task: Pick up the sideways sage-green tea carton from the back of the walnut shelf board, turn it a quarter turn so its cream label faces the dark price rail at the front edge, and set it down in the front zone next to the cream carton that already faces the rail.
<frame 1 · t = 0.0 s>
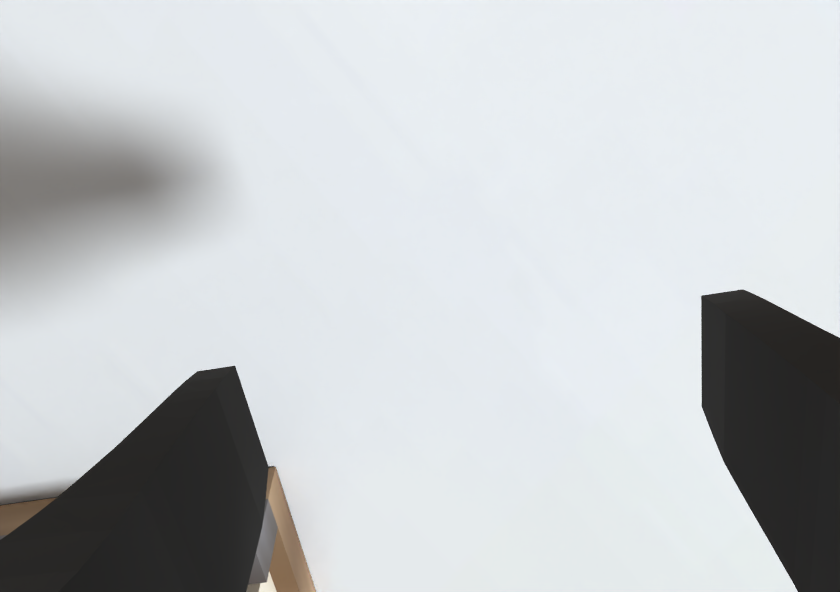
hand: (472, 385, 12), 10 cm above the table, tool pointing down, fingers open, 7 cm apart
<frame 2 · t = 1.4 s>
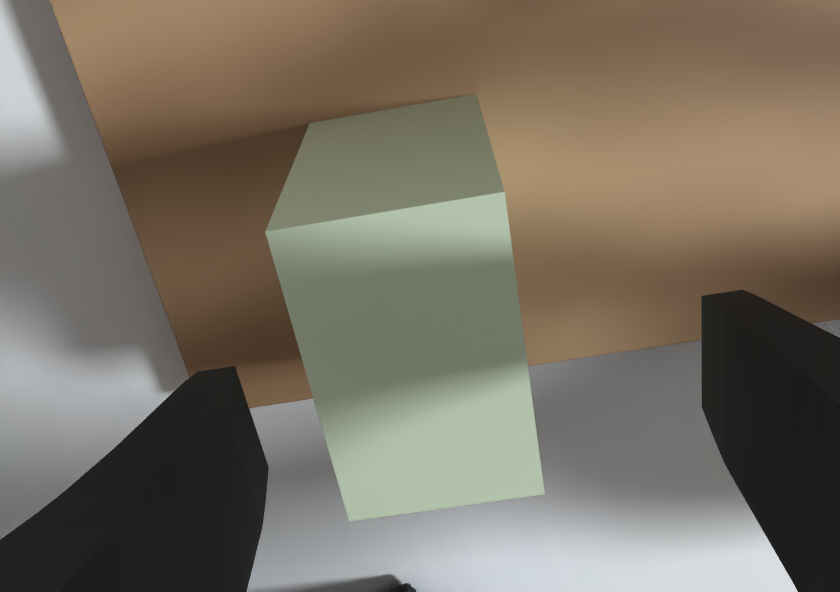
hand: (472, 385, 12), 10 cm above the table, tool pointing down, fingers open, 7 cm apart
shelf board: (591, 47, 20), on the table
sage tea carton: (416, 233, 20), point 1 cm above the table, touching shelf board
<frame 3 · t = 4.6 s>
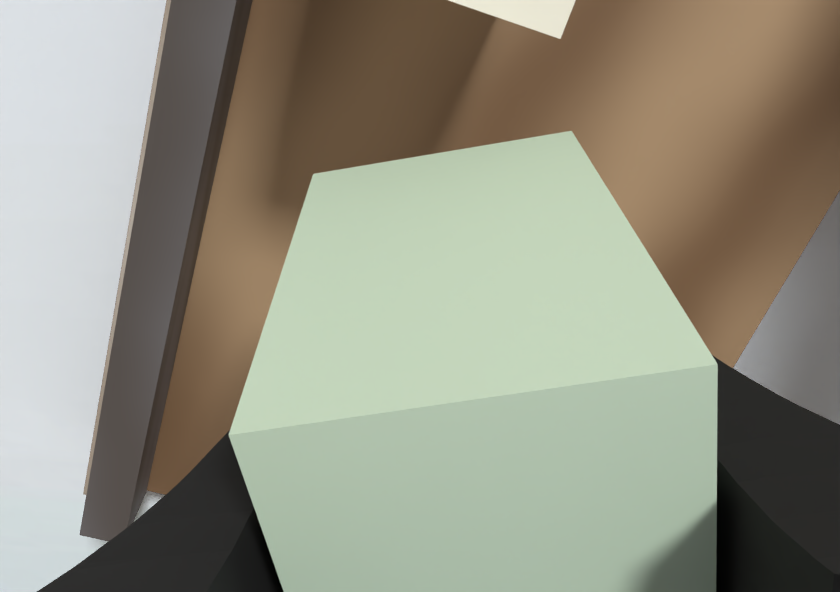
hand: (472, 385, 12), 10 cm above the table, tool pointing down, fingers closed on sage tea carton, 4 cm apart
shelf board: (492, 178, 21), on the table
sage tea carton: (470, 333, 14), point 8 cm above the table, touching gripper
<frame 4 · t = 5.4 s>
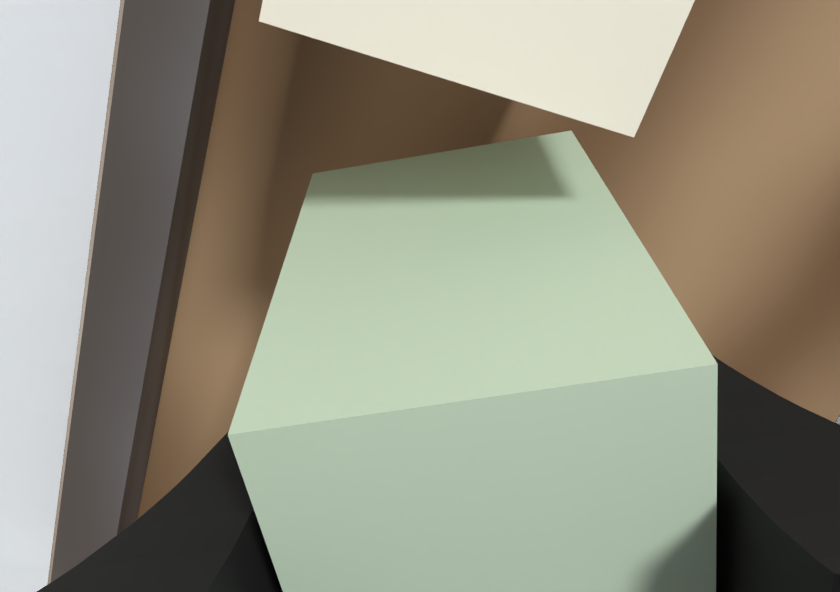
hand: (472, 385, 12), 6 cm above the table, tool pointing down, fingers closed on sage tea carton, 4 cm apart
shelf board: (519, 250, 18), on the table
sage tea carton: (469, 332, 14), point 4 cm above the table, touching gripper
when the fingers open (4 cm above the table, at t = 6.2 s): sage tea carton drops 1 cm, resting on shelf board.
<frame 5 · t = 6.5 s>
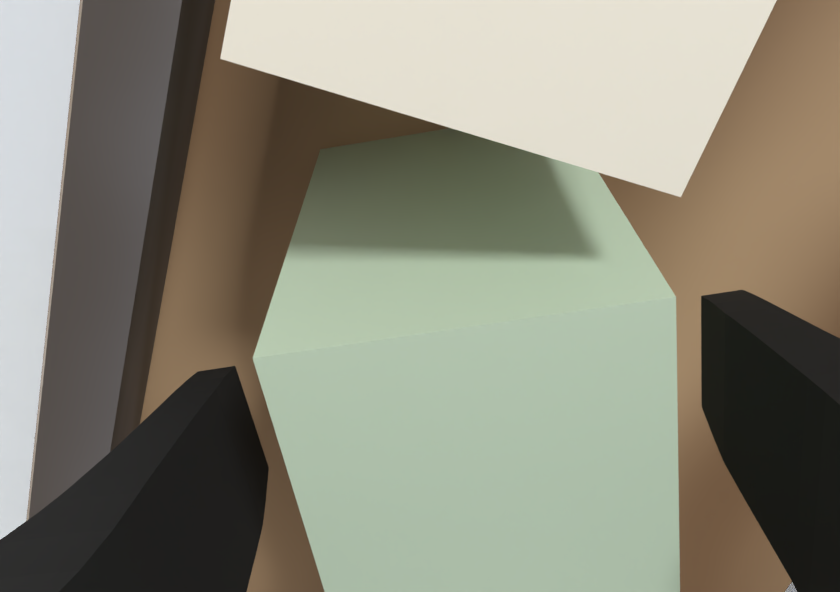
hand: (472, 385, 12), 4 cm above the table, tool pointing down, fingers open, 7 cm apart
shelf board: (528, 286, 16), on the table
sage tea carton: (465, 300, 15), point 1 cm above the table, touching shelf board
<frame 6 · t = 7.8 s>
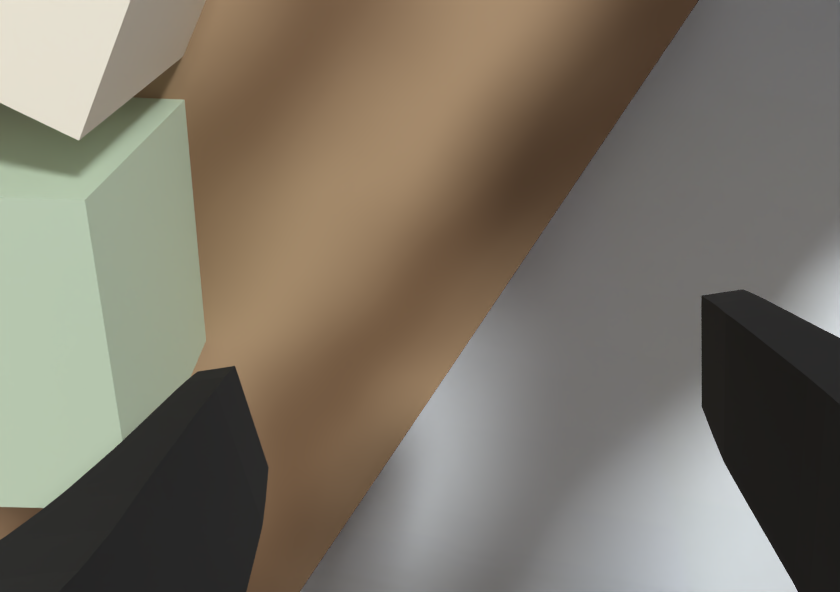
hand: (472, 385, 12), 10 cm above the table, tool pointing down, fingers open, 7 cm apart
shelf board: (184, 230, 22), on the table
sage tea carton: (115, 226, 20), point 1 cm above the table, touching shelf board
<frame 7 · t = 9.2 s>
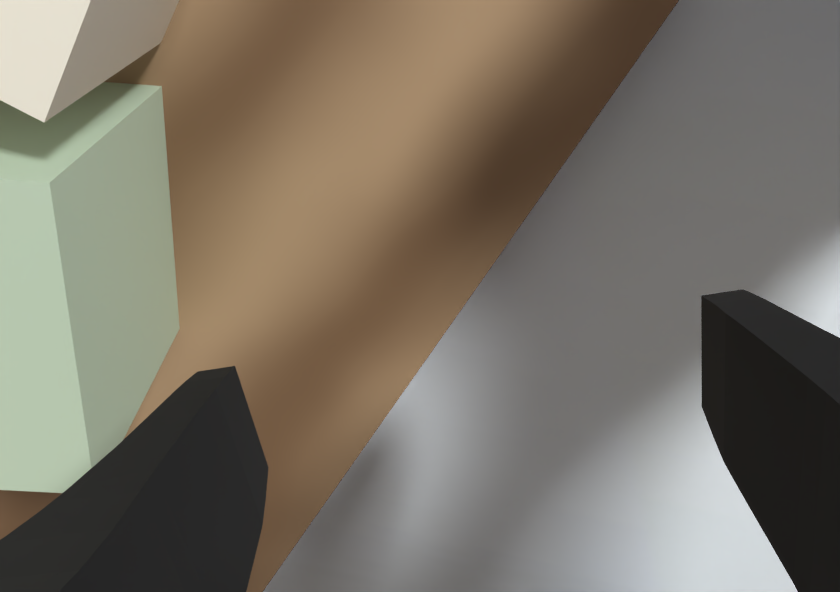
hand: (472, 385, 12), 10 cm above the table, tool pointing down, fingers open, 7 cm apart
shelf board: (161, 217, 22), on the table
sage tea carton: (90, 211, 20), point 1 cm above the table, touching shelf board
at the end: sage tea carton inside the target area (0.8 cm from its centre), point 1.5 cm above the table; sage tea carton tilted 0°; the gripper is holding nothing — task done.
